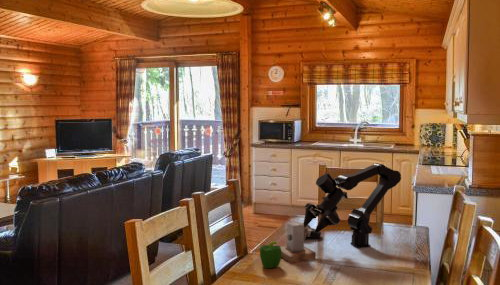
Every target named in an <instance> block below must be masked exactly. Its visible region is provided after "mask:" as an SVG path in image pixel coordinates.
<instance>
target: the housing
mask: <svg viewBox="0 0 500 285" xmlns="http://www.w3.org/2000/svg"><path fill="white" fill-rule="evenodd" d="M302 223H303V222H299V221H293V222H287V223H286V246H287V247H285V246H284V247H285V249H286V250H288V251H290V252H291V253H296V252H303V251H305V249H304V247H305V245H304V244H305V240H304V224H302Z"/></svg>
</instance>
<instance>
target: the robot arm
mask: <svg viewBox="0 0 500 285" xmlns="http://www.w3.org/2000/svg"><path fill="white" fill-rule="evenodd" d="M377 175H378V176H379V179H378V184H377V186H376V187H375V188H374V189H373V191H372V192H371V193H370V195H369V197H367V199H366V201H365V202H364V203H363V204H362V205H361V207H359V208H353V209H352V211H351V213H349V214H348V218H347V224H348V226H349V228H350V230H351V231H352V234H351V242H350V245H353V246H354V247H355V248H367V247H369V248H370V247H371V244H370V242H369V240H370V238H369V236H370V234H372V232H373V228H372V226H371V225H370V224H369V223H370V221H371V220H370V219H371V217H370V216H371V214H372V213H373V212H374V210H375V209H376V207H377V206H378V205H379V204H380V202H381V201H382V199H383V198H384V197H385V195H386V194H387V193H388V192H389V190H391V189H392V188H393V189H394V188H395V187H397V185H398V184H399V183H400V182H401V180H402V174H401V172H400V171H399V170H396V169H392V168H390V167H387V166H386V165H384V164H382V163H377V162H375V163H373V164H371V165H369V166H367V167H365V168H363V169H360V170H358V171H355V172H352V173H351V172H350V173H344V174H340V175H338V176H337V177H336V178H333V177H332V176H331V175H330V173H327V172H326V173H324V174H323V175H321V176H319V177H318V178H317V179H316V180H315V185H316V186H317V187H318V188H319V189H320V190H321V191H322V192H323V193H324V194H326V196H325V197H324V196H323V197H322V198H321V199H322V201H321V202H320V203H319V204H318V203H317V204H316V205H315V204H314V203H311V202H308V203H306V204H305V206H304V208H305V209H304V210H305V213H304V220H303V222H302V223H303V224H304V227H306V226H307V225H309V224H310V223H311V222H312V221H313V219H318V216H320V218H319V221H318V224H317V226H316V228H315V229H316V230H315V232H316V233H318V232H319V231H320V232H321V231H322V230H323V229H325V228H326V227H328V226H337V225H338V224H339V223H340V222H341V218H340V216H339V214H338V212H337V210H338V204H339V203H340V201H341V200H342V199H346V200H347V199H348V198H349V197H348V192H346V191H351V190H353V189H354V188H356V187H357V186H358V185H359V183H361V182H363V181H365V180H368V179H370V178H373V177H374V176H377ZM343 190H345V191H343Z"/></svg>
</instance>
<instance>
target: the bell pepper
mask: <svg viewBox="0 0 500 285" xmlns="http://www.w3.org/2000/svg"><path fill="white" fill-rule="evenodd" d="M277 243H278V242H277V241H272V242H270V243H269V244H262V245H261V246H260V248H259V257H260V261H261V264H262V266H263V268H265V269H273V268H278V267H279V265H280V262H281V259H282V258H281V253H282V251H281V248H280V247H281V246H280V245H277Z"/></svg>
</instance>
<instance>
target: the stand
mask: <svg viewBox="0 0 500 285" xmlns="http://www.w3.org/2000/svg"><path fill="white" fill-rule="evenodd" d="M285 247H287V245H285V246H280V248H281V251H282V253H281V259H283V260H285V261H286V262H288V263H289V264H291V263H297V262H302V261H307V260H308V261H309V260H315V259H316V256H317V255H316V254H317V253H316V251H313V250H311V249H310V248H308V247H306V246H304V249H305V251H303V252H296V253H291V252H290V251H288V250H286V249H285Z"/></svg>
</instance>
